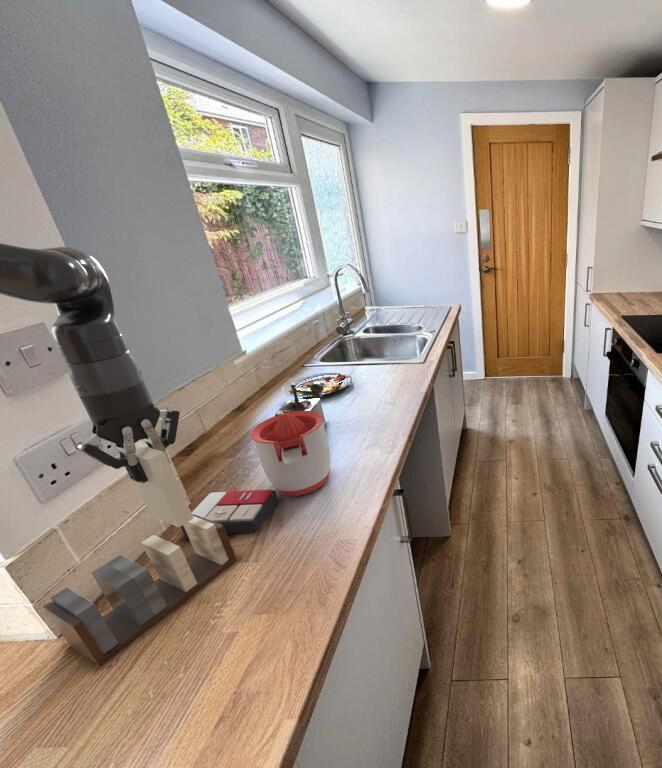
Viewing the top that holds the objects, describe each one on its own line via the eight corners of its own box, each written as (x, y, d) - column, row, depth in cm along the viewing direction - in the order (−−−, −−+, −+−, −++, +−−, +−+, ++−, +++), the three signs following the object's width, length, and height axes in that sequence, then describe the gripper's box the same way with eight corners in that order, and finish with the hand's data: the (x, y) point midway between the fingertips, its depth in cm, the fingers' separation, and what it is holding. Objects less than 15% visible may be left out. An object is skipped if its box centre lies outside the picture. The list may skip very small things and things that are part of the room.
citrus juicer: (268, 515, 92) (242, 440, 84) (271, 475, 107) (249, 408, 99) (340, 494, 99) (323, 422, 91) (334, 459, 113) (318, 394, 105)
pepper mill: (280, 443, 122) (263, 389, 115) (294, 425, 132) (279, 374, 125) (333, 439, 123) (320, 385, 116) (342, 421, 133) (331, 371, 126)
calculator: (252, 519, 86) (177, 522, 85) (257, 535, 88) (183, 538, 86) (275, 487, 96) (209, 489, 95) (279, 501, 98) (213, 504, 96)
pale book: (151, 516, 73) (119, 450, 68) (166, 507, 75) (137, 443, 70) (178, 527, 70) (147, 460, 65) (193, 518, 72) (165, 452, 67)
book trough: (69, 645, 65) (39, 601, 61) (208, 547, 84) (192, 509, 80) (100, 666, 62) (69, 622, 58) (237, 560, 80) (221, 521, 77)
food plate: (361, 377, 170) (359, 369, 169) (337, 401, 149) (335, 392, 147) (303, 377, 171) (301, 370, 170) (271, 401, 150) (269, 393, 149)
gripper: (148, 365, 70) (183, 451, 76) (36, 398, 58) (90, 495, 65) (174, 370, 67) (208, 458, 74) (63, 406, 55) (116, 507, 62)
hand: (153, 475), depth 69 cm, fingers closed on pale book, 2 cm apart
